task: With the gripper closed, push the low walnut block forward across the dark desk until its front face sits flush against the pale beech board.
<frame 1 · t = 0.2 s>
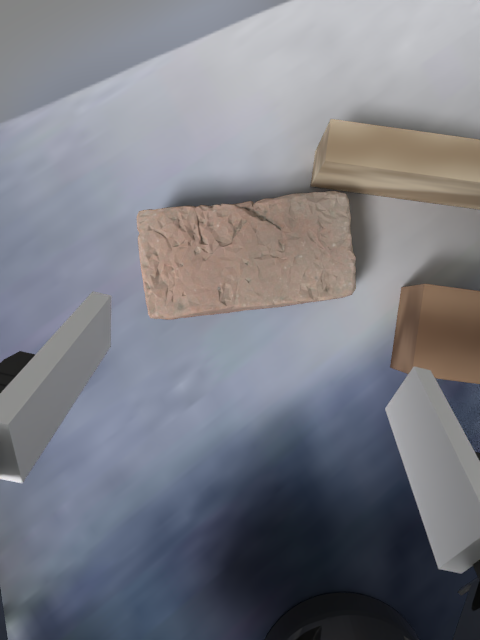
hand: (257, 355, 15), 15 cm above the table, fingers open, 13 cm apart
brick: (247, 261, 31), on the table
board: (433, 185, 30), on the table
block: (434, 332, 31), on the table
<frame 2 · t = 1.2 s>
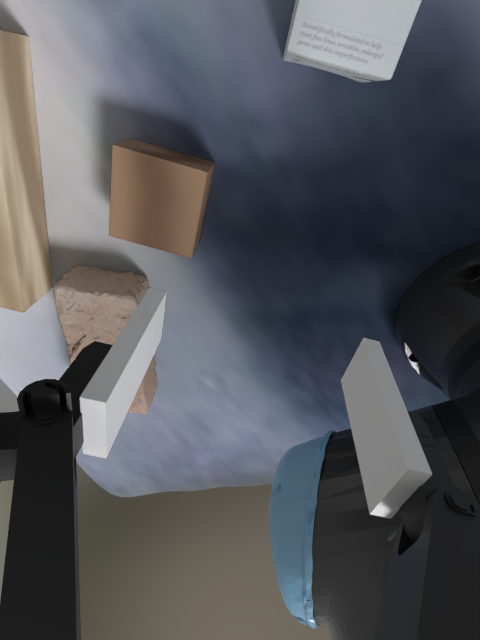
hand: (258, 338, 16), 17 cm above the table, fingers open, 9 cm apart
brick: (119, 332, 40), on the table
board: (25, 181, 31), on the table
skincare box: (338, 18, 23), on the table
block: (168, 193, 30), on the table
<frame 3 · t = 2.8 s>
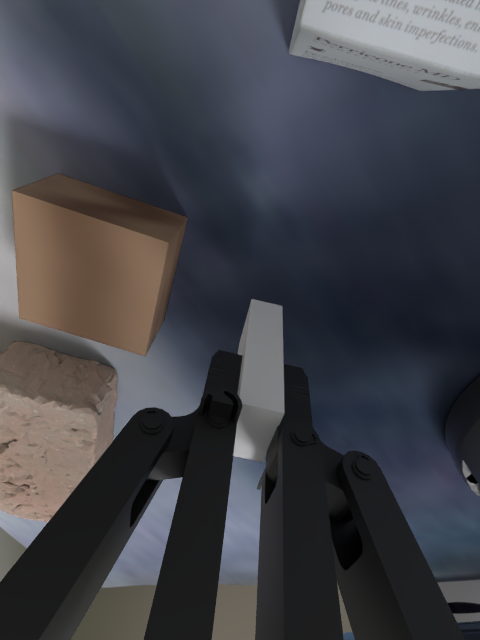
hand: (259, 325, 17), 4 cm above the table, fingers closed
brick: (69, 420, 30), on the table
block: (118, 252, 21), on the table
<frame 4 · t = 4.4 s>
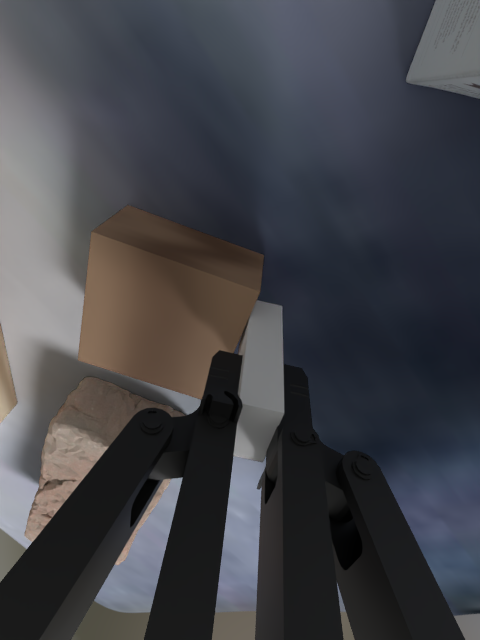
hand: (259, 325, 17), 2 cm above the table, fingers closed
brick: (114, 452, 29), on the table
block: (181, 288, 19), on the table, touching gripper
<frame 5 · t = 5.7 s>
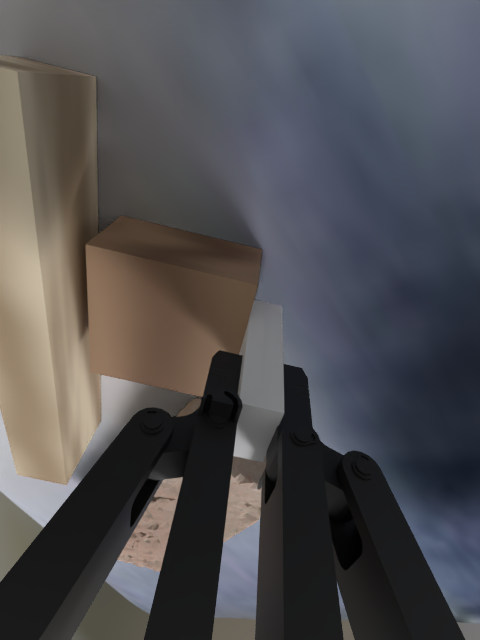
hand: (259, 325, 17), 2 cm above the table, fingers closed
brick: (189, 467, 29), on the table
board: (72, 293, 20), on the table
block: (184, 291, 19), on the table, touching gripper
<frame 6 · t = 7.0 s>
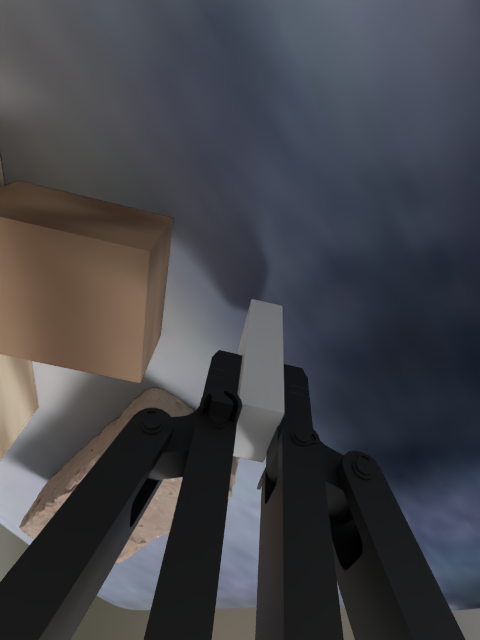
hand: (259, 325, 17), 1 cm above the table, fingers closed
brick: (137, 456, 28), on the table
block: (99, 266, 18), on the table
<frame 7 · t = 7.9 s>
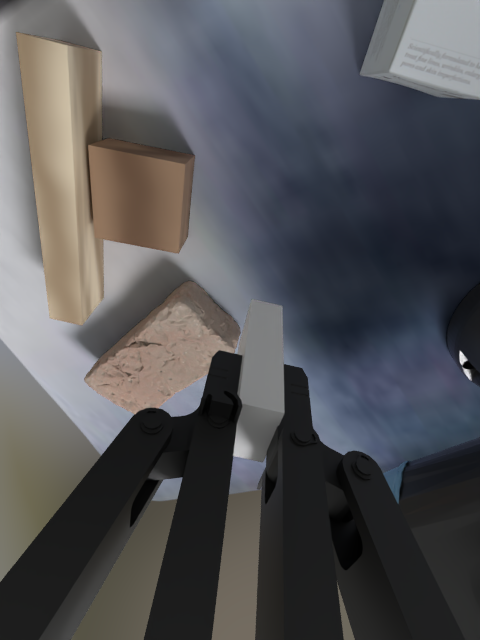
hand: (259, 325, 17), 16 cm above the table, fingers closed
brick: (167, 340, 40), on the table
board: (85, 194, 31), on the table
skincare box: (418, 33, 23), on the table
block: (151, 190, 30), on the table
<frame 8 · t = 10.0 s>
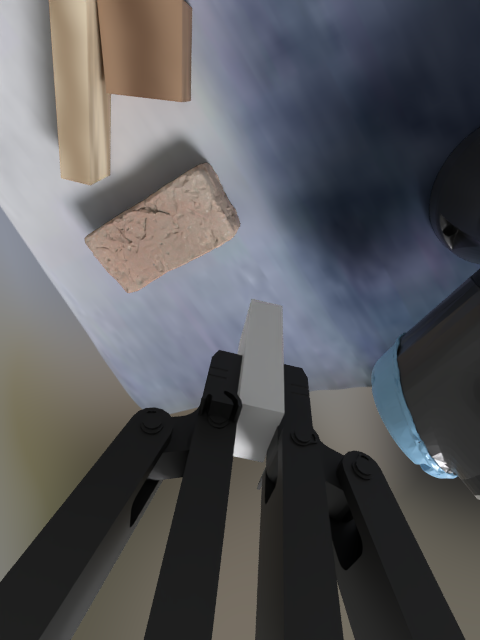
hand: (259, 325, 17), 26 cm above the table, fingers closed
brick: (169, 224, 43), on the table
board: (95, 58, 34), on the table
block: (155, 53, 33), on the table
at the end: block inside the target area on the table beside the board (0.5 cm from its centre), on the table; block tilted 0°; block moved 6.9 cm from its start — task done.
